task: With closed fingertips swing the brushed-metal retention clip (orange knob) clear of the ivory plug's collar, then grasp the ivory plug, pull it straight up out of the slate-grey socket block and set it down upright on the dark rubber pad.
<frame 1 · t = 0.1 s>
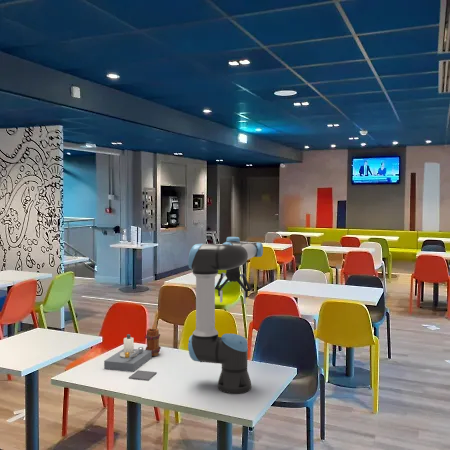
hand: (232, 302, 265), 28 cm above the table, fingers open, 13 cm apart
socket: (128, 363, 247), on the table
mug: (153, 354, 263), on the table
clip: (134, 351, 244), point 7 cm above the table, hinge at 0.0°
plug: (128, 363, 247), resting in socket
pad: (142, 375, 229), on the table
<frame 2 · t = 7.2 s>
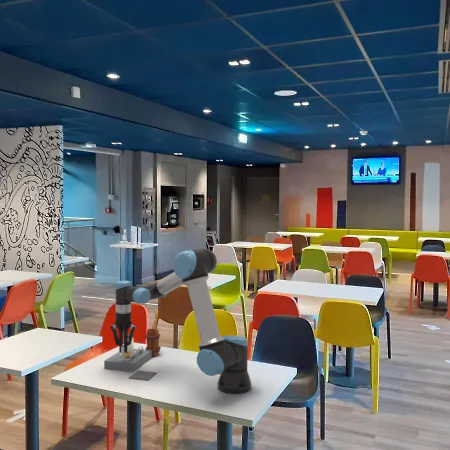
hand: (123, 358, 238), 5 cm above the table, fingers closed
clip: (134, 351, 244), point 7 cm above the table, hinge at 1.4°, touching gripper
everything else where it was.
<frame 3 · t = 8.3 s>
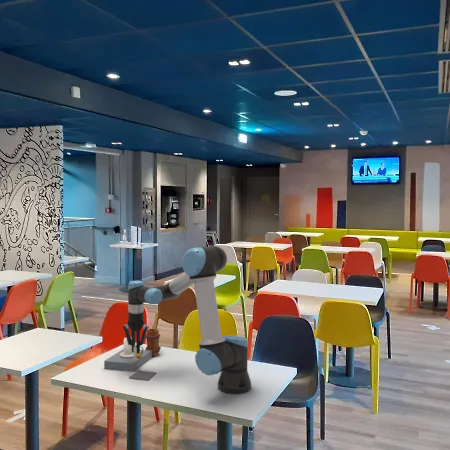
hand: (135, 358, 238), 5 cm above the table, fingers closed
clip: (139, 351, 244), point 7 cm above the table, hinge at 21.9°, touching gripper
everything else where it was.
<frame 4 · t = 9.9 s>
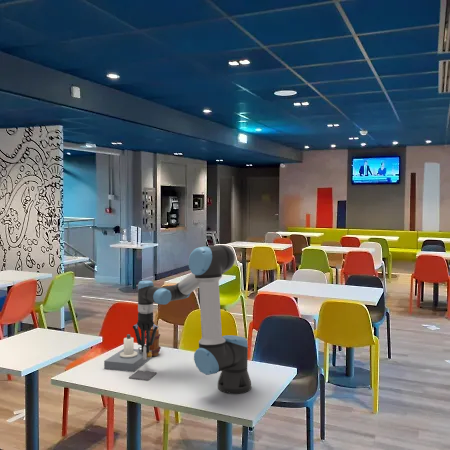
hand: (145, 358, 237), 6 cm above the table, fingers closed
clip: (144, 351, 245), point 7 cm above the table, hinge at 41.0°, touching gripper
everything else where it was.
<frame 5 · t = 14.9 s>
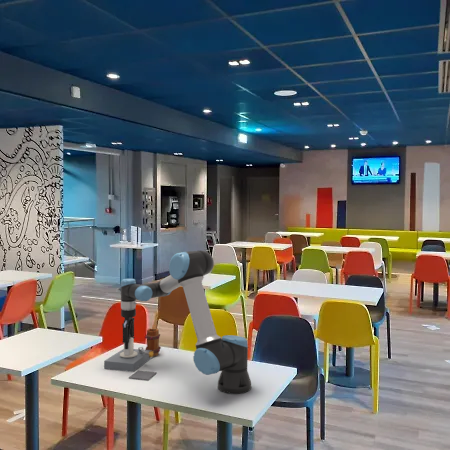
hand: (128, 353, 247), 5 cm above the table, fingers closed on plug, 5 cm apart
clip: (145, 350, 245), point 7 cm above the table, hinge at 44.7°
plug: (128, 363, 247), resting in socket, touching gripper
everything else where it was.
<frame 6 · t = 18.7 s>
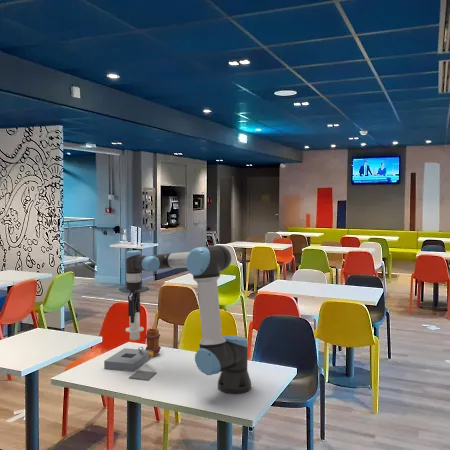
hand: (134, 327, 239), 21 cm above the table, fingers closed on plug, 5 cm apart
plug: (134, 338, 239), point 15 cm above the table, touching gripper
everything else where it was.
when the fingers open (7 cm above the table, at t = 22.5 s): plug stays where it is, resting on pad.
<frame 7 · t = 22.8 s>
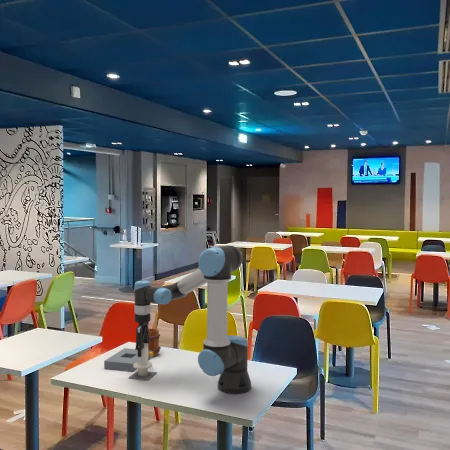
hand: (142, 359, 229), 8 cm above the table, fingers open, 9 cm apart
plug: (142, 374, 229), point 1 cm above the table, touching pad
everything else where it was.
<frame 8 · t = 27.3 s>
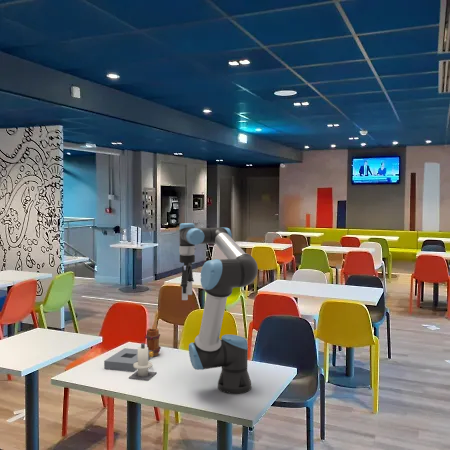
hand: (187, 297, 235), 37 cm above the table, fingers open, 13 cm apart
nothing on the table moved.
at the end: clip at +45° (first picture: +0°); plug inside the target area (0.0 cm from its centre), point 0.6 cm above the table; plug tilted 1° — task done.
